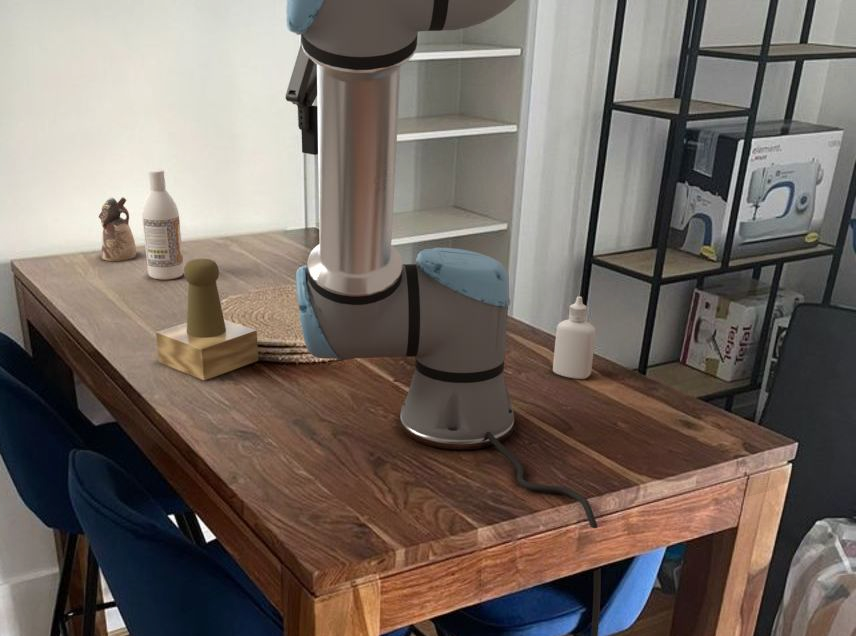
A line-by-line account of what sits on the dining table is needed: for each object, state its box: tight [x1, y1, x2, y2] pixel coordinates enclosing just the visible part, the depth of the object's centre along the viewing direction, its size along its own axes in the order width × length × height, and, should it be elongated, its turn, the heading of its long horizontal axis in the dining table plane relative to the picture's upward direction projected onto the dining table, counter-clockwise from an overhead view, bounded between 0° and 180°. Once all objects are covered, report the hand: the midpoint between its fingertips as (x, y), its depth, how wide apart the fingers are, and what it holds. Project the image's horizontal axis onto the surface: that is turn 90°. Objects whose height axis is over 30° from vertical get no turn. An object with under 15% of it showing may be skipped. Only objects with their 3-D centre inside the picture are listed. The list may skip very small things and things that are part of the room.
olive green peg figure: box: [183, 258, 226, 338], centre depth 154 cm, size 6×6×11 cm
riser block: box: [155, 318, 259, 381], centre depth 158 cm, size 11×11×5 cm
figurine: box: [98, 196, 137, 262], centre depth 208 cm, size 7×7×12 cm
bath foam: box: [141, 168, 185, 281], centre depth 194 cm, size 7×7×20 cm
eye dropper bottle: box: [552, 295, 596, 380], centre depth 150 cm, size 4×6×12 cm
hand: (343, 147), depth 151 cm, fingers open, 13 cm apart
